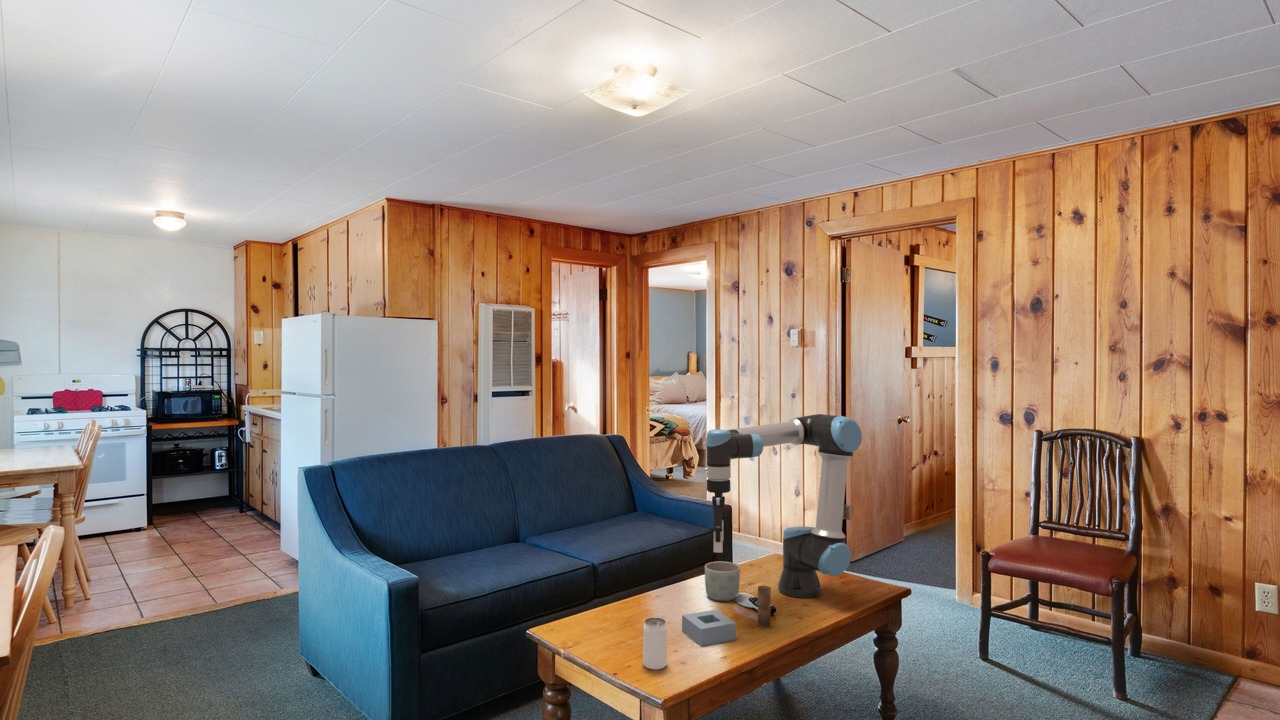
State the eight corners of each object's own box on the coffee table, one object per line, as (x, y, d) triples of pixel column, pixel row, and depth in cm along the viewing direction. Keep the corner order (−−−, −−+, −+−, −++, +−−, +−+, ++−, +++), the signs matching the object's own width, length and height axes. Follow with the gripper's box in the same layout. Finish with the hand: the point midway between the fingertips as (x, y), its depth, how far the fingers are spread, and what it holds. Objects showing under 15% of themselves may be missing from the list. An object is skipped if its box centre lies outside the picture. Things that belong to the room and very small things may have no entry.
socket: (715, 625, 216) (716, 609, 216) (736, 639, 205) (736, 623, 205) (682, 631, 211) (682, 615, 211) (700, 646, 200) (700, 629, 200)
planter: (739, 604, 234) (739, 572, 234) (703, 602, 237) (703, 570, 237) (740, 592, 247) (740, 562, 247) (706, 590, 249) (706, 560, 249)
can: (652, 672, 183) (652, 627, 183) (638, 663, 189) (638, 620, 189) (671, 666, 187) (671, 622, 187) (657, 657, 192) (657, 615, 192)
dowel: (765, 622, 219) (766, 584, 219) (773, 626, 215) (773, 588, 215) (755, 624, 217) (755, 586, 217) (762, 628, 214) (762, 590, 214)
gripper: (708, 471, 229) (708, 535, 229) (704, 486, 205) (704, 557, 205) (730, 472, 228) (731, 536, 228) (730, 486, 204) (730, 558, 204)
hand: (718, 546), depth 217 cm, fingers open, 13 cm apart
